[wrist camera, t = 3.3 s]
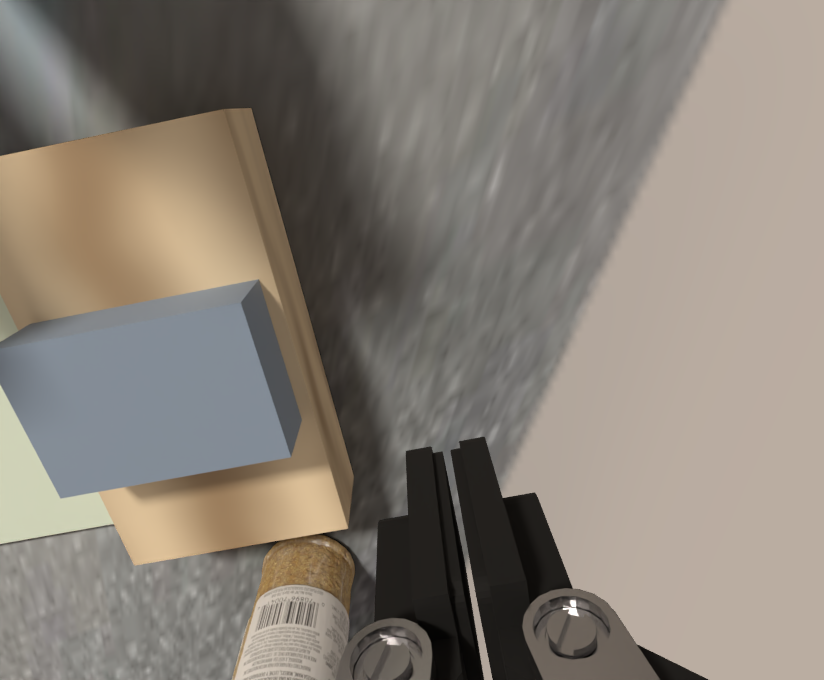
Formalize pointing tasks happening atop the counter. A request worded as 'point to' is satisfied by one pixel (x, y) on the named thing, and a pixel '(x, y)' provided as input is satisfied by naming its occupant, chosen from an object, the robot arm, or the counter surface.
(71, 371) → the blue gray rectangular block
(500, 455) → the counter surface
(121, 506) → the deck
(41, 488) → the mat
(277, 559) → the sprinkles bottle
